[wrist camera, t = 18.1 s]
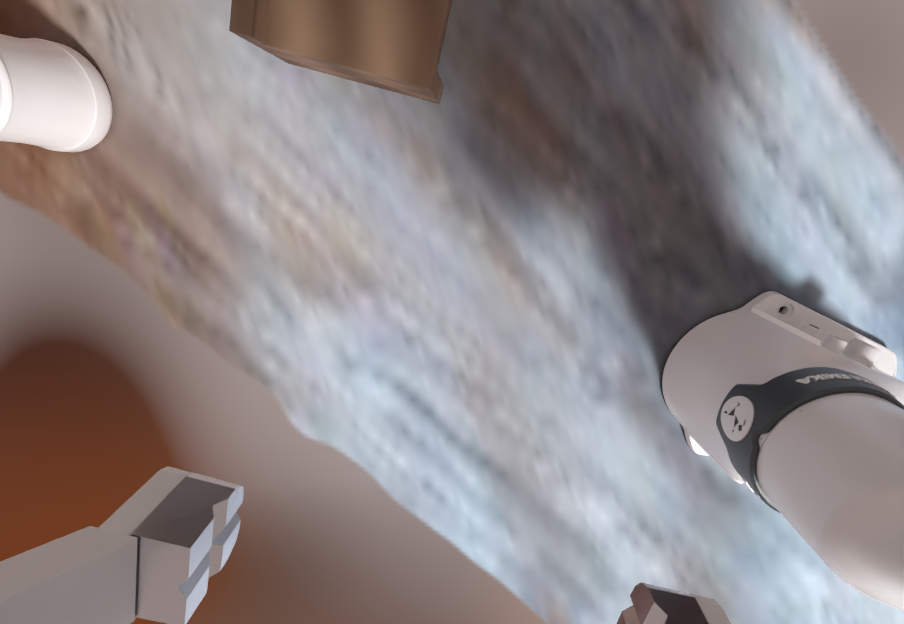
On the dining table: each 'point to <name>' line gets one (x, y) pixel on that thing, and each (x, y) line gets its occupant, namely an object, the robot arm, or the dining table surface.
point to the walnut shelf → (353, 39)
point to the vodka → (51, 96)
